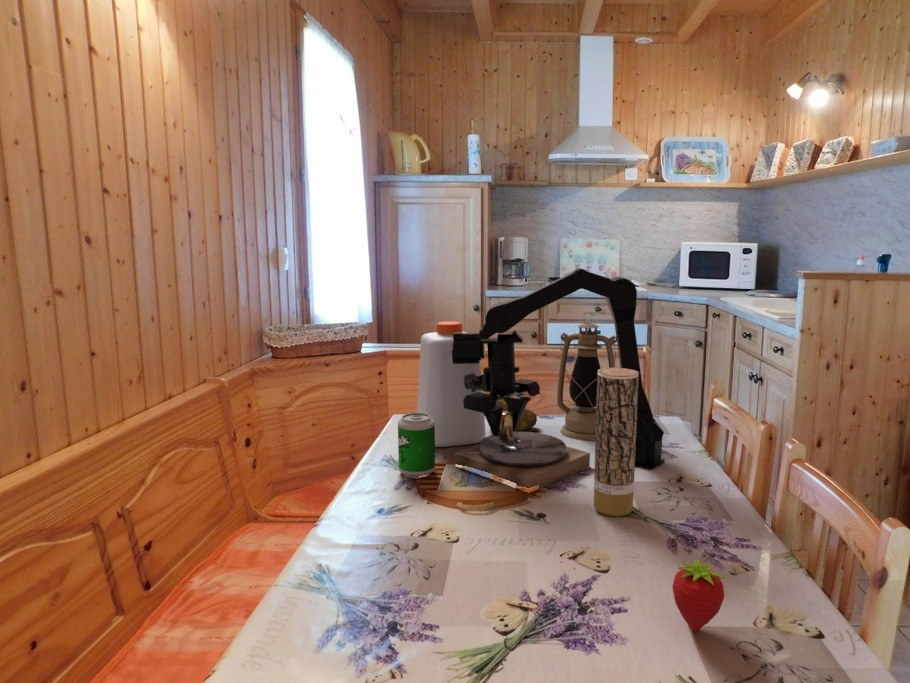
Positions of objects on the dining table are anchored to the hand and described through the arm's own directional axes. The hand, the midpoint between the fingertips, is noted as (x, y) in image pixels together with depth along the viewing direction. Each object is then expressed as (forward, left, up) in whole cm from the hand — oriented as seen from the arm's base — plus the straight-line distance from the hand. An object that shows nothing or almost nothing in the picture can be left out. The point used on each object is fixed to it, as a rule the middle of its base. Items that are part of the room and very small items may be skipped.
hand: (504, 432), depth 138 cm
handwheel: (-6, +1, -3) cm, 7 cm away
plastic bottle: (+19, -2, -6) cm, 20 cm away
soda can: (+7, +19, -6) cm, 21 cm away
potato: (+13, -17, -6) cm, 22 cm away
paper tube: (-31, +6, -6) cm, 32 cm away
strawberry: (-57, +29, -6) cm, 65 cm away
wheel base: (-6, +1, -6) cm, 9 cm away
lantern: (-2, -28, -6) cm, 28 cm away
